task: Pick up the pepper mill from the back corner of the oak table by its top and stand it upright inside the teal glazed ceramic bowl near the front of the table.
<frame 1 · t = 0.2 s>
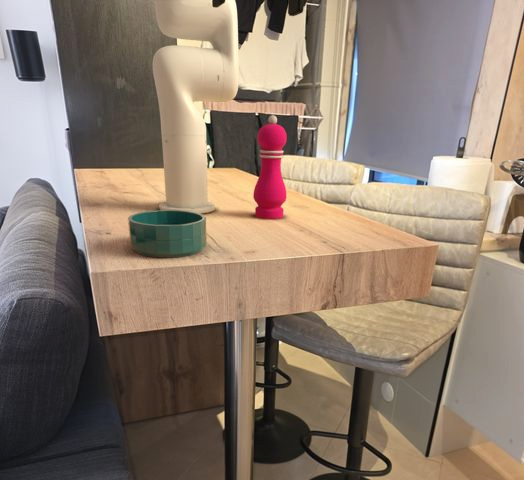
hand: (258, 9, 54), 31 cm above the counter, tool pointing down, fingers open, 9 cm apart
bowl: (169, 248, 75), on the counter
pepper mill: (269, 217, 101), on the counter
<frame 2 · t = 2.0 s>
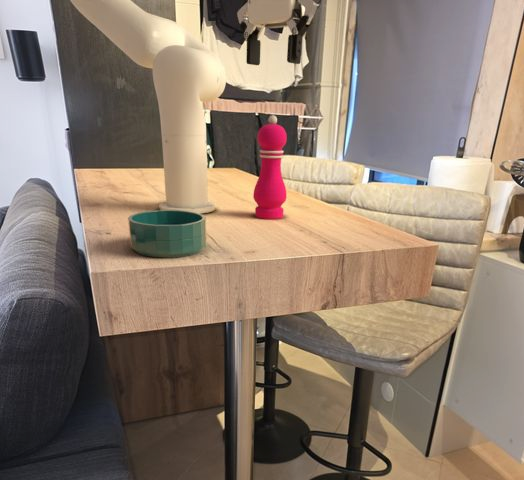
hand: (272, 63, 84), 28 cm above the counter, tool pointing down, fingers open, 9 cm apart
nothing on the counter moved.
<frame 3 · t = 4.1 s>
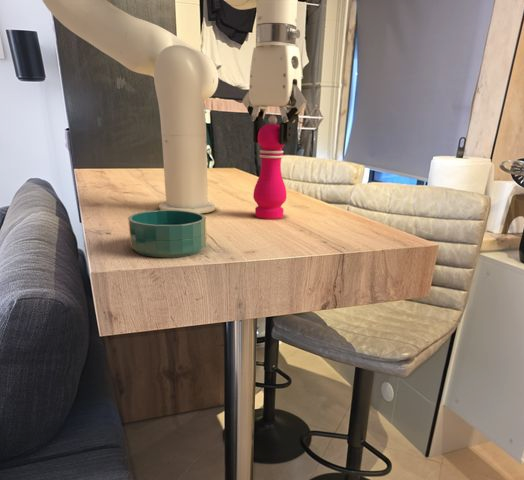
hand: (271, 142, 94), 15 cm above the counter, tool pointing down, fingers closed on pepper mill, 6 cm apart
pepper mill: (269, 217, 101), on the counter, touching gripper
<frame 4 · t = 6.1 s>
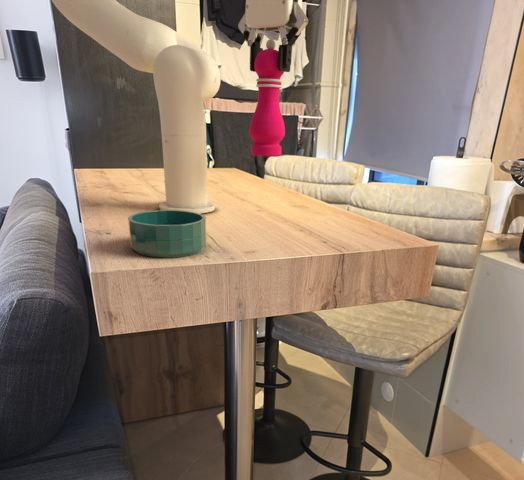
hand: (269, 70, 87), 28 cm above the counter, tool pointing down, fingers closed on pepper mill, 6 cm apart
pepper mill: (266, 156, 94), point 12 cm above the counter, touching gripper
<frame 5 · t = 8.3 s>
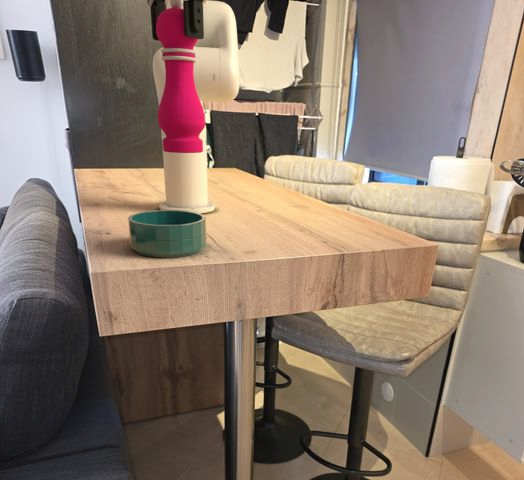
hand: (177, 38, 65), 29 cm above the counter, tool pointing down, fingers closed on pepper mill, 6 cm apart
pepper mill: (183, 152, 72), point 14 cm above the counter, touching gripper
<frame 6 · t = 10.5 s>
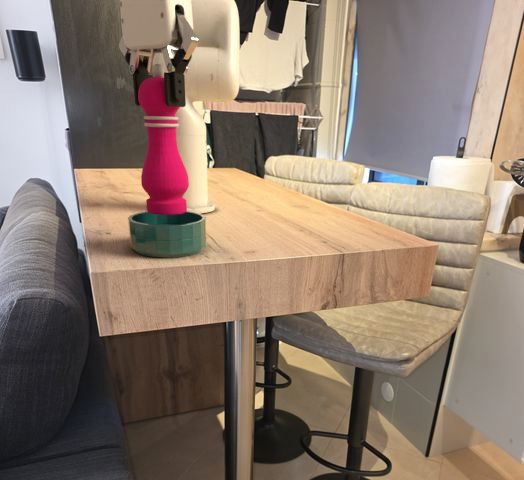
hand: (160, 104, 65), 21 cm above the counter, tool pointing down, fingers closed on pepper mill, 6 cm apart
pepper mill: (167, 212, 72), point 6 cm above the counter, touching gripper
when the fingers open (16 cm above the counter, at t = 12.3 s): pepper mill stays where it is, resting on bowl.
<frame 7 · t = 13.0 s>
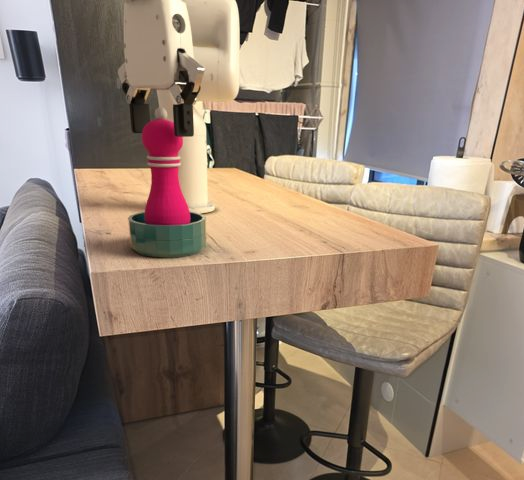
hand: (162, 134, 67), 17 cm above the counter, tool pointing down, fingers open, 9 cm apart
pepper mill: (169, 245, 75), resting on bowl
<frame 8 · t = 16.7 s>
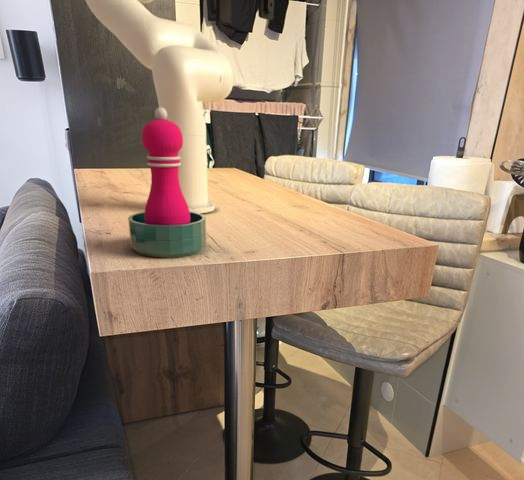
hand: (244, 21, 78), 34 cm above the counter, tool pointing down, fingers open, 9 cm apart
nothing on the counter moved.
at the end: pepper mill 0.1 cm off-centre in the bowl, point 0.4 cm above the bowl's base; pepper mill tilted 0°; the gripper is holding nothing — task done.
